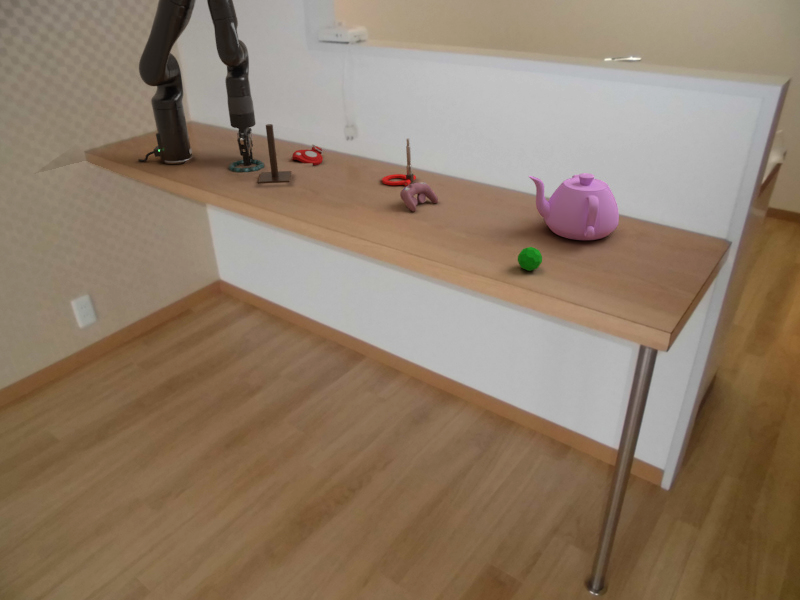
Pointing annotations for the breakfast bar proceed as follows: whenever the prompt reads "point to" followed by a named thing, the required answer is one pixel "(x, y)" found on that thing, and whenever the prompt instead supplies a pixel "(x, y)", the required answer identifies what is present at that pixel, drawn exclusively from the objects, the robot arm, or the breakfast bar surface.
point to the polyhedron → (530, 258)
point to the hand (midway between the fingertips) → (248, 164)
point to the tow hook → (408, 178)
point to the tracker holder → (309, 155)
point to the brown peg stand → (273, 162)
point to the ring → (233, 168)
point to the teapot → (579, 208)
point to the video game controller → (421, 191)
